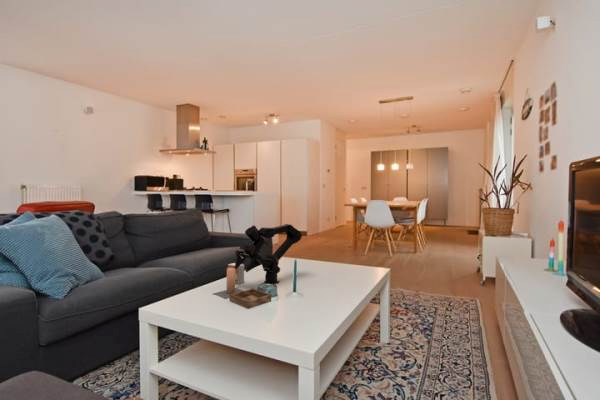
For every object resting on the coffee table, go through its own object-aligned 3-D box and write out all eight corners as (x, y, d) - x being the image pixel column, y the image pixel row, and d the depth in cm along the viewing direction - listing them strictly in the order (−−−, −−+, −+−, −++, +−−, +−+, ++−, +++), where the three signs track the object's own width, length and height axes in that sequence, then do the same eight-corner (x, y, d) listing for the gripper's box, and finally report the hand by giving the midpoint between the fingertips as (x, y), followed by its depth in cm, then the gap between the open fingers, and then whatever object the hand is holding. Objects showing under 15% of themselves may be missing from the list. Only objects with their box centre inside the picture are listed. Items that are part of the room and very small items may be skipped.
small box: (227, 282, 183) (227, 264, 182) (233, 280, 188) (233, 262, 187) (238, 284, 179) (238, 266, 179) (244, 282, 184) (244, 264, 183)
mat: (235, 288, 172) (235, 287, 172) (248, 293, 164) (248, 292, 164) (212, 294, 161) (212, 293, 161) (225, 300, 154) (225, 298, 154)
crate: (252, 295, 162) (252, 288, 162) (271, 302, 152) (271, 294, 152) (229, 301, 152) (229, 294, 151) (247, 309, 142) (247, 302, 142)
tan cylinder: (234, 291, 165) (234, 267, 165) (235, 293, 161) (235, 269, 161) (226, 292, 164) (226, 267, 164) (227, 294, 160) (227, 269, 160)
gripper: (237, 235, 177) (220, 258, 169) (260, 239, 164) (243, 264, 156) (248, 247, 183) (232, 270, 175) (271, 252, 171) (255, 276, 163)
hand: (240, 270), depth 167 cm, fingers open, 9 cm apart
